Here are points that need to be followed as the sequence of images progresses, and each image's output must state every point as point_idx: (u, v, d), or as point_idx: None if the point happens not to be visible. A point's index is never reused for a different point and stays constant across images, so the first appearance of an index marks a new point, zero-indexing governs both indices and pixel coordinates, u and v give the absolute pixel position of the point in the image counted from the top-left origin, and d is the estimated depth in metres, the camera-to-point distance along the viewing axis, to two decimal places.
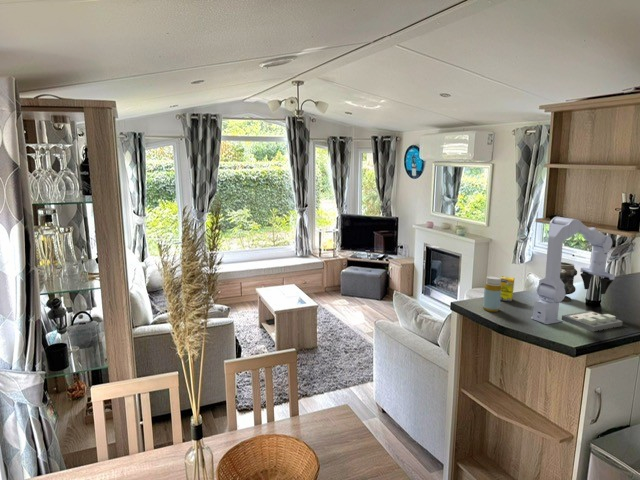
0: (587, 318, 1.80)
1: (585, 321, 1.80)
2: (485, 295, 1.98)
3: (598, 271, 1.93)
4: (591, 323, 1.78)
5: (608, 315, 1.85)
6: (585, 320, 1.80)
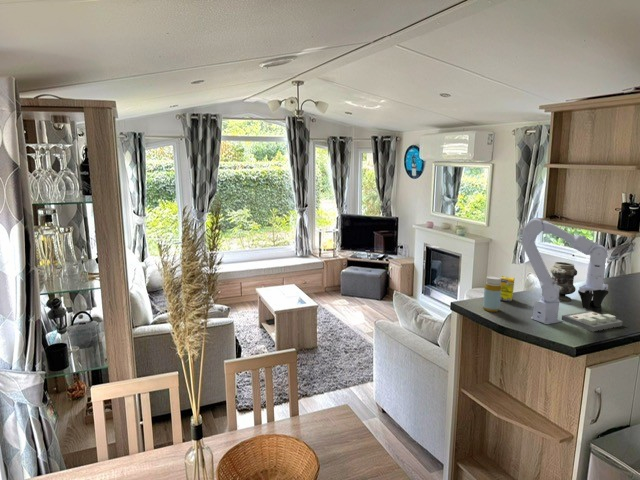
0: (587, 318, 1.80)
1: (585, 321, 1.80)
2: (485, 295, 1.98)
3: (586, 283, 1.78)
4: (591, 323, 1.78)
5: (608, 315, 1.85)
6: (585, 320, 1.80)
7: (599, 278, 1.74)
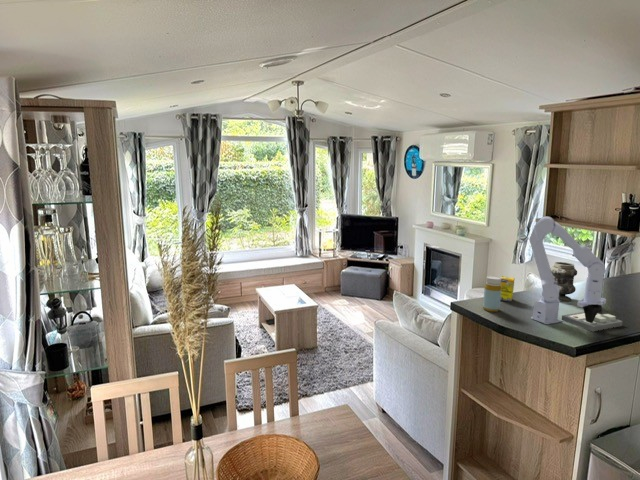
0: None
1: None
2: (485, 295, 1.98)
3: (584, 298, 1.79)
4: None
5: (608, 315, 1.85)
6: None
7: (597, 293, 1.75)
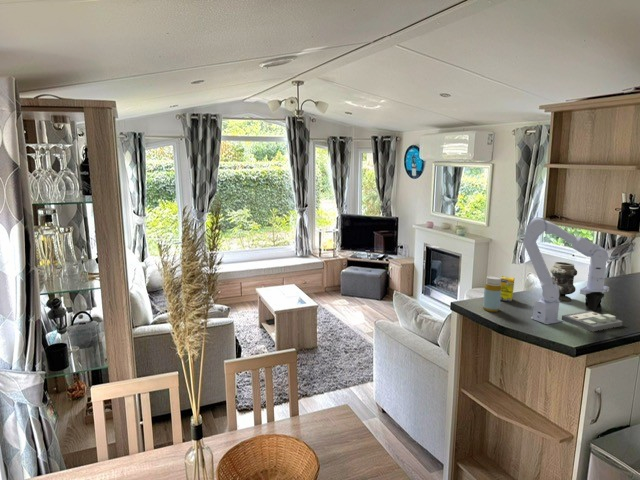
0: (587, 320, 1.81)
1: None
2: (485, 295, 1.98)
3: (587, 285, 1.79)
4: None
5: (608, 315, 1.85)
6: None
7: (600, 280, 1.74)
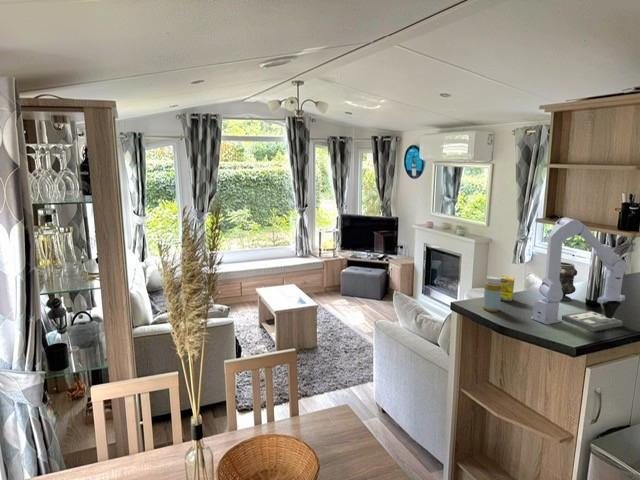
0: (587, 320, 1.81)
1: None
2: (485, 295, 1.98)
3: None
4: None
5: None
6: None
7: (617, 289, 1.80)
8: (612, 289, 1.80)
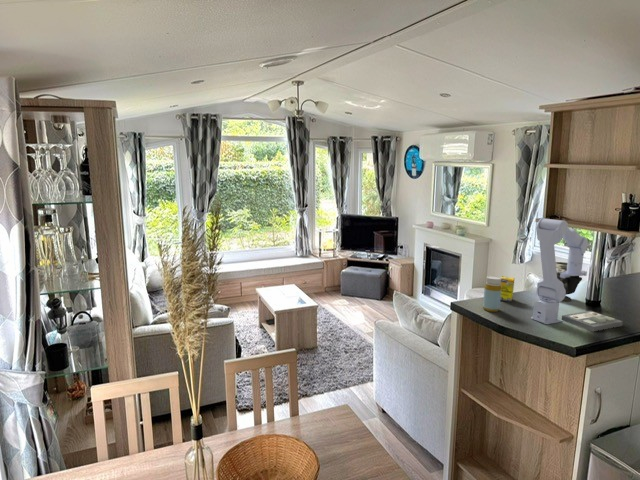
0: (587, 320, 1.81)
1: None
2: (485, 295, 1.98)
3: None
4: None
5: (608, 317, 1.85)
6: None
7: (578, 265, 1.92)
8: (574, 265, 1.92)
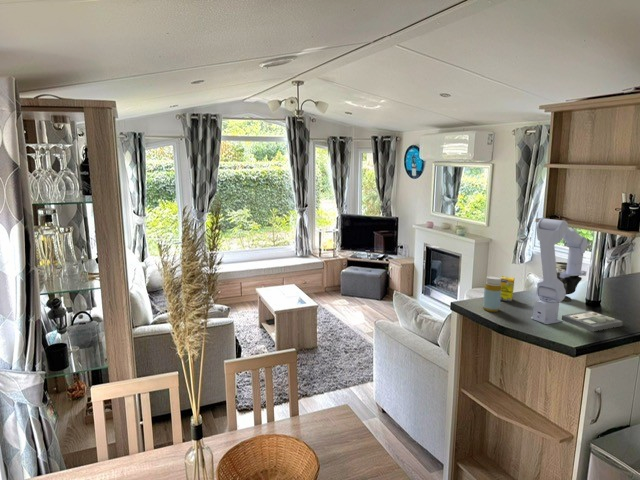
0: (587, 320, 1.81)
1: None
2: (485, 295, 1.98)
3: (566, 270, 1.96)
4: None
5: (608, 317, 1.85)
6: None
7: (578, 265, 1.92)
8: (573, 265, 1.92)
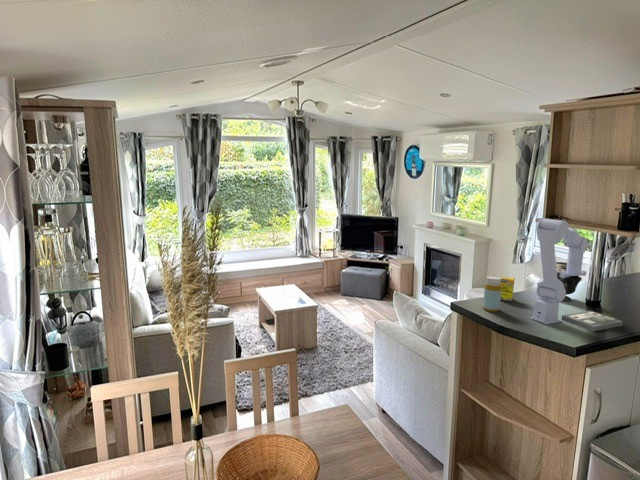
0: (587, 320, 1.81)
1: None
2: (485, 295, 1.98)
3: (566, 270, 1.96)
4: None
5: (608, 317, 1.85)
6: None
7: (578, 265, 1.92)
8: (573, 265, 1.92)
